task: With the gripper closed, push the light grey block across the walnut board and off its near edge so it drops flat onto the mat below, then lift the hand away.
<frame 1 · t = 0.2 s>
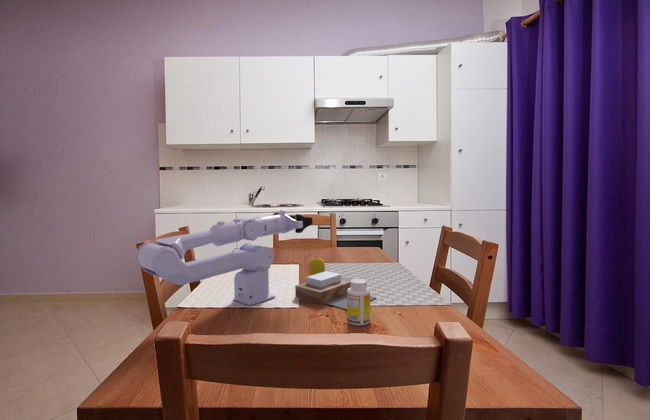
hand: (303, 220, 121), 21 cm above the table, tool horizontal, fingers open, 7 cm apart
mat: (351, 301, 106), on the table
supplement bottle: (358, 322, 91), on the table
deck: (326, 294, 112), on the table
light grey block: (323, 282, 112), point 3 cm above the table, touching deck
lemon: (316, 280, 128), on the table
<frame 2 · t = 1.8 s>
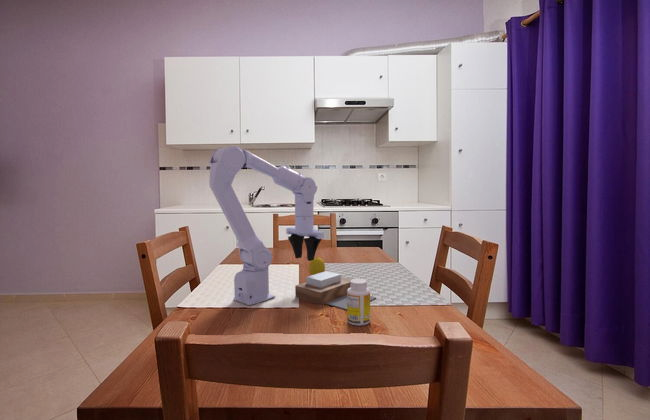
hand: (304, 259, 117), 9 cm above the table, tool pointing down, fingers open, 5 cm apart
nothing on the table moved.
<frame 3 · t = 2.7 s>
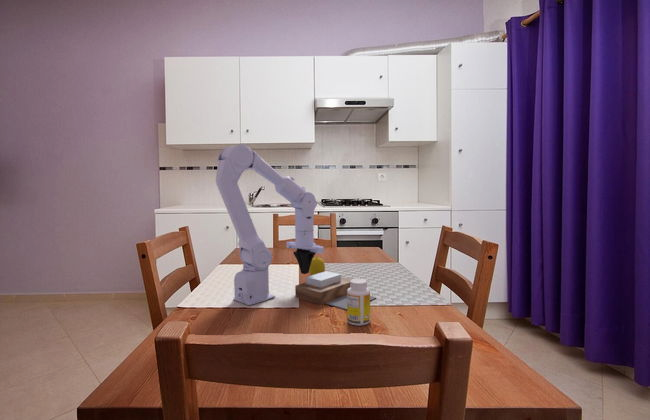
hand: (304, 273, 118), 5 cm above the table, tool pointing down, fingers closed
nothing on the table moved.
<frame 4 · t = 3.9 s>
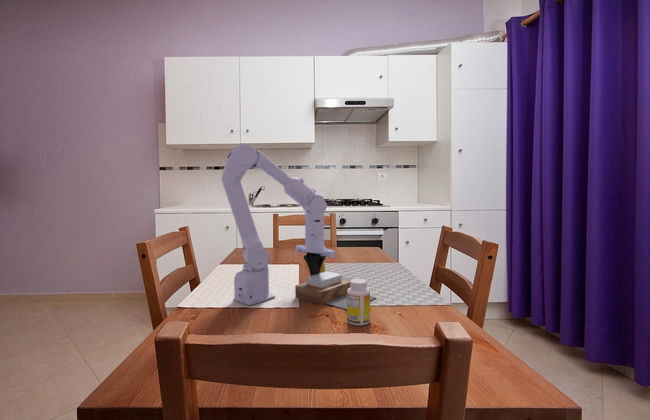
hand: (314, 277, 115), 4 cm above the table, tool pointing down, fingers closed
light grey block: (324, 282, 112), point 3 cm above the table, touching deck, gripper
everything else where it was.
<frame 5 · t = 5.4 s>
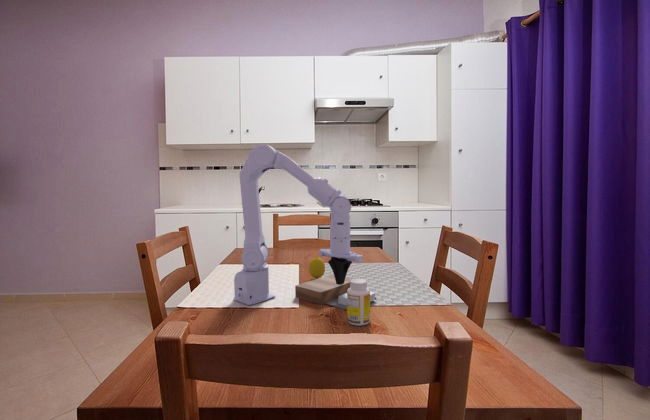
hand: (340, 283, 108), 4 cm above the table, tool pointing down, fingers closed
light grey block: (357, 294, 104), point 2 cm above the table, tilted 180°, touching mat
everything else where it was.
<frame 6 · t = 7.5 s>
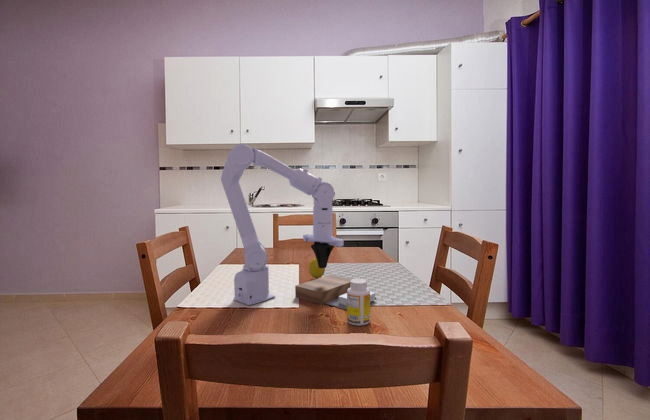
hand: (322, 267, 112), 8 cm above the table, tool pointing down, fingers closed
nothing on the table moved.
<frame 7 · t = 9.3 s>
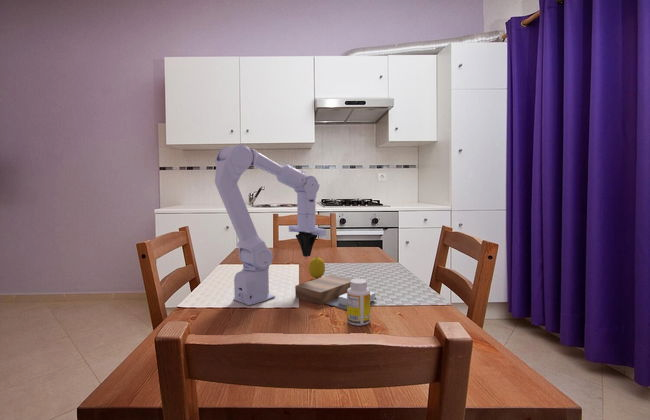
hand: (306, 256, 119), 10 cm above the table, tool pointing down, fingers closed
nothing on the table moved.
at the end: light grey block point 2.3 cm above the table; light grey block inside the target area on the mat (1.9 cm from its centre), point 2.3 cm above the mat's base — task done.
